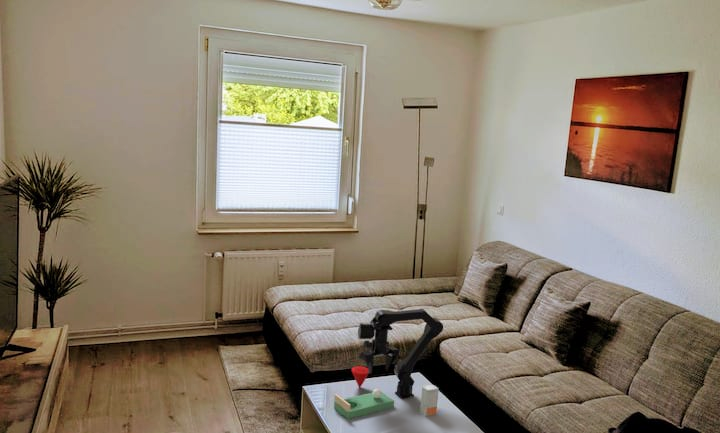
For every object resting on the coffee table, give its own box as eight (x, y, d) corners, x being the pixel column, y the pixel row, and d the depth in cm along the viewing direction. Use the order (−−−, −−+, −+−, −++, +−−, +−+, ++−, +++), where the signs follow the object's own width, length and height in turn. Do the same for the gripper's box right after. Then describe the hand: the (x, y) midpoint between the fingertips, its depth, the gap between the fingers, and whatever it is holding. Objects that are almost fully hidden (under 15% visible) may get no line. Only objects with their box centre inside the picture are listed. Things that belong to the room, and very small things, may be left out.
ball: (373, 386, 250) (369, 394, 249) (379, 389, 246) (374, 397, 246) (379, 389, 252) (374, 397, 251) (384, 393, 248) (380, 401, 248)
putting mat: (379, 397, 257) (380, 384, 256) (393, 407, 248) (394, 394, 247) (333, 408, 243) (333, 394, 242) (346, 419, 234) (347, 405, 233)
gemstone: (367, 393, 259) (368, 373, 258) (348, 391, 261) (349, 370, 260) (370, 386, 268) (372, 365, 267) (352, 383, 270) (354, 363, 269)
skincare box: (425, 417, 241) (427, 390, 239) (419, 412, 244) (421, 386, 243) (436, 414, 243) (439, 388, 242) (431, 410, 247) (433, 384, 246)
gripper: (387, 330, 265) (384, 362, 267) (353, 335, 255) (351, 368, 257) (401, 338, 256) (399, 370, 258) (367, 343, 246) (365, 378, 247)
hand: (378, 371), depth 255 cm, fingers open, 9 cm apart
